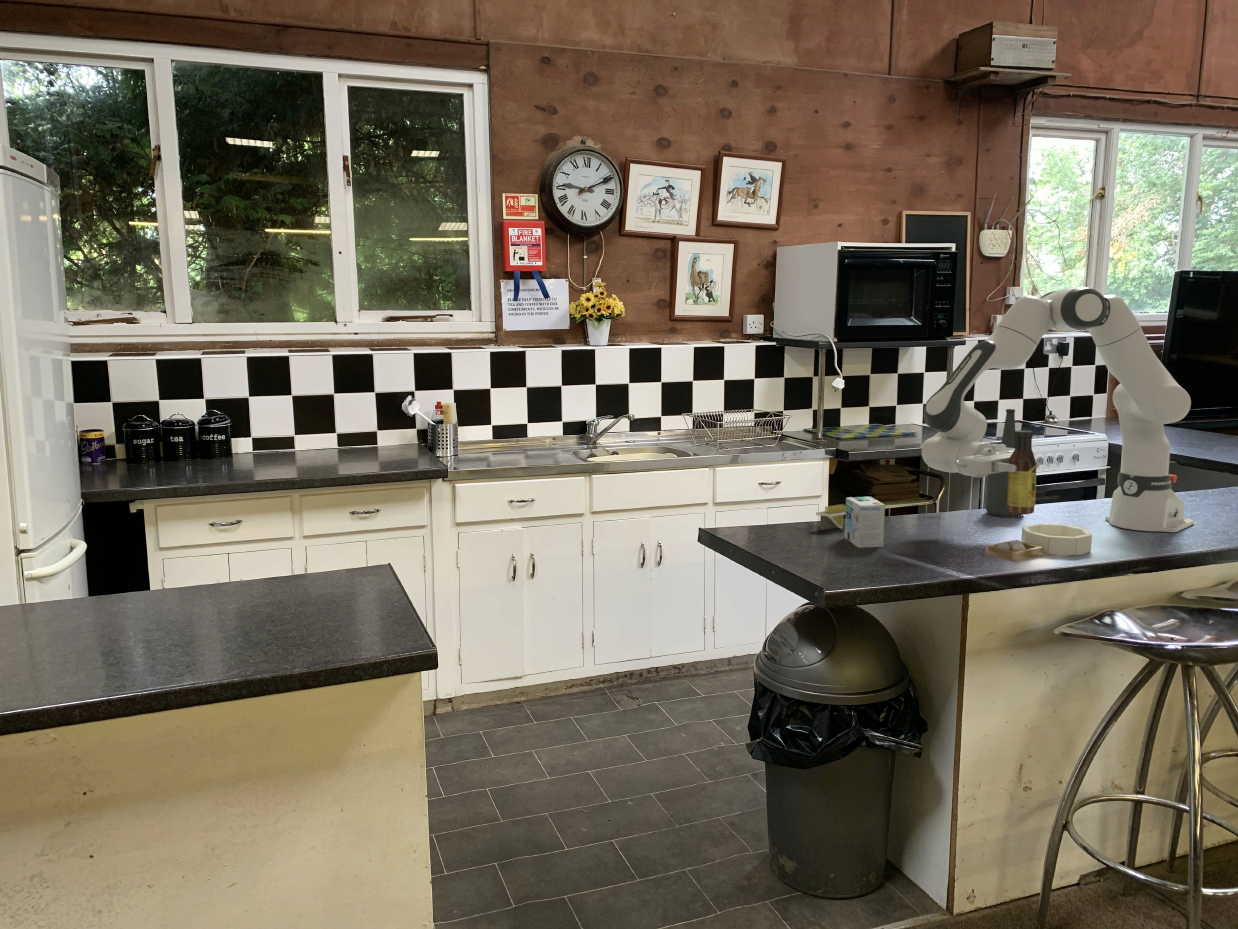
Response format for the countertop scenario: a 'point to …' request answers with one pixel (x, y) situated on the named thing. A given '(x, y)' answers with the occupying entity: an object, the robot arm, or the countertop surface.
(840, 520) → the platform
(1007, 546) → the pebble
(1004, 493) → the bottle
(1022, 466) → the sauce bottle
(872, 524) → the light bulb box
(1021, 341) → the robot arm
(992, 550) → the pebble tray
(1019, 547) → the pebble
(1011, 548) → the pebble
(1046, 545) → the bowl
